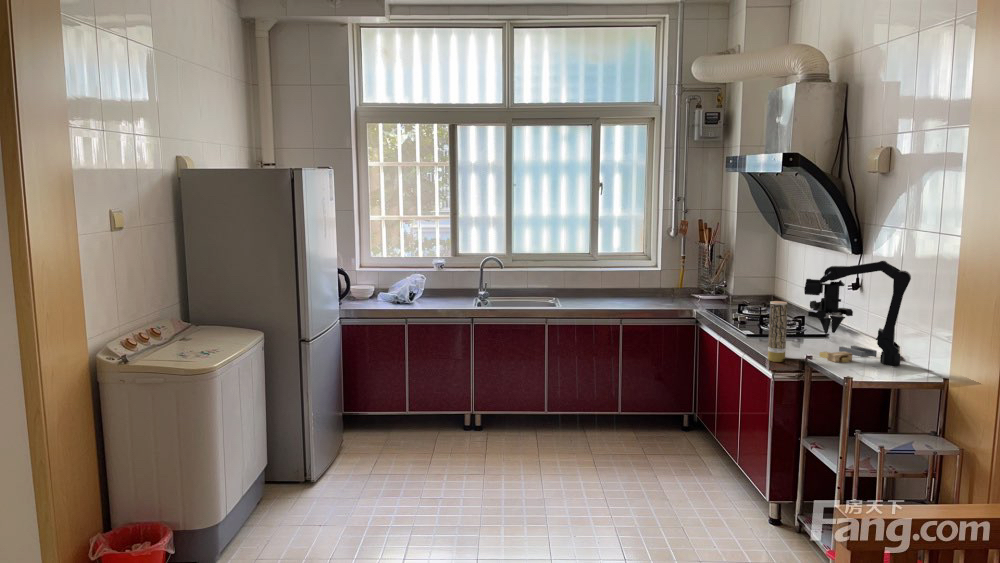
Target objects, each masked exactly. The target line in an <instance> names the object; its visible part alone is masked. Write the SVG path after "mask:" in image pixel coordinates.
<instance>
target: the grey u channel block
mask: <svg viewBox="0 0 1000 563" xmlns="http://www.w3.org/2000/svg"><path fill="white" fill-rule="evenodd" d="M838 352H848V353H852V356H857V357H861V358H862V357H874V358H877V352H878V351H877V350H875V349H871V348H866V347H863V346H858V345H850V347H846V346H839V347H838Z"/></svg>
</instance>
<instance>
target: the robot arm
mask: <svg viewBox="0 0 1000 563" xmlns="http://www.w3.org/2000/svg"><path fill="white" fill-rule="evenodd" d="M874 272H882V273H884V274H885V275H887V277H889V278H890V279H892V280H893V283H892V287H893V288H892V290H893V291H892V295H891V300H890V304H889V307H888V311H887V316H886V318H885V323H884V326H883V329H882V328H880V327H879V328H878V330H877V336H876V338H875V341H877V343H876V344H877V346H878V347H879V348H880V349H881V354H880V358H879V363H880V364H882V365H884V366H889V367H891V366H892V367H900V364H901V353H899V351H900V349H901V347H900V345H899V344H897V342H896V341H895V339H896V338H895V336H896V324H897V320H898V318H899V317H898V316H899V313H900V309H901V305H902V301H903V297H904V295H905V293H906V290H907V288H908V286H909V284H910V282H911V280H912V275H911V274H910V272H909V271H907V270H901V269H899V268H897V267H896V266H894V265H892V264H891V263H888V261H886V260H880V261H875V262H869V263H862V264H856V265H832V266H829V267H827V268H826V269H825V270H824V273H823V274H824V275H823V276H822V277H821V278H819V279H814V278H813V279H812V278H806V279H805V284H804V289H803V290H804V295H809V296H820V295H821V294H823V297H822V298H820V301H818V302H817V301H816V300H810V301H809V308H810V309H809V311H808V312H807V313H808V314H807V315H808V316H807V317H811V318H816V319H818V320H819V321H820V323H821V326H822V330H823V333H824V334H826V335H827V334H828V333H829V328H830V325H831V333H833V334H835V332H836V331H837V330H838V328H839V326H840V325H841V323H842V322H843V320H844V319H846V317H852V316H853V315H854V311H853V309H852V308H847V307H839V303H840V302H842V298H840V288H841V287H845V285H846V284H845V283H844V282H843V281H842V279H843V278H845V277H846V278H847V277H848V276H853V275H860V274H861V275H862V274H868V273H874ZM839 279H840V280H839ZM837 280H839V281H837ZM828 281H830V283H827V282H828ZM844 315H845V316H844Z"/></svg>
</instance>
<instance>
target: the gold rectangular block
mask: <svg viewBox="0 0 1000 563" xmlns="http://www.w3.org/2000/svg"><path fill="white" fill-rule="evenodd" d="M828 353H831V352H829V351H820V352H819V358H824V359H827V357H828ZM848 362H850V361H849V357H846V356H839V362H838V363H848Z"/></svg>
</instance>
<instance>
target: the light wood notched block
mask: <svg viewBox="0 0 1000 563" xmlns="http://www.w3.org/2000/svg"><path fill="white" fill-rule="evenodd" d="M839 356H846V357H849V362H852V361H853V355H852V353H848V352H840V351H837V352H830V353H828V357H827V358H826V360H827V362H830V363H831V362H832V363H836V364H837V363H840V362H839Z"/></svg>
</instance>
